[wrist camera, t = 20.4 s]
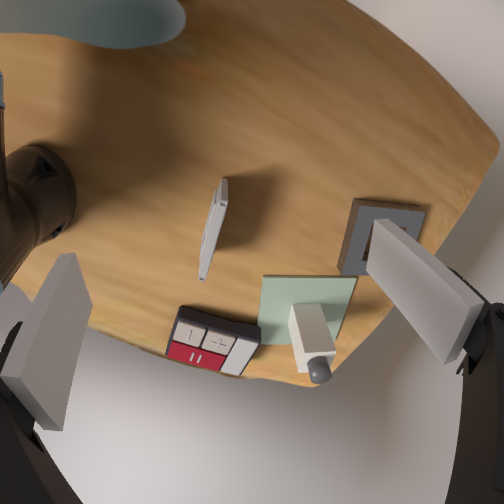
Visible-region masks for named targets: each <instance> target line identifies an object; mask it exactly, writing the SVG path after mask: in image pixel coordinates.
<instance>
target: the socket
mask: <svg viewBox="0 0 504 504" xmlns="http://www.w3.org/2000/svg"><path fill="white" fill-rule="evenodd" d="M425 213H426V212H425V211H424V210H423V209H421V208H420V207H419V206H418V205H410V204H401V203H392V202H383V201H373V200H363V199H353V203H352V207H351V212H350V216H349V220H348V224H347V229H346V233H345V237H344V241H343V245H342V249H341V252H340V256H339V260H338V264H337V268H338V270H339V272H340V274H341V275H369V274H368V272H367V271H366V267H367V261H368V256H369V253H366V252H364V251H365V248H366V245H367V241H368V238H369V234H370V231H371V227H372V224H373V225H374V220H375V219H386V218H388V219H389V220H390V221H392V222H393V223H394V224H396V225H397V226H398V227H399V228H401V229H402V230H403V231H404V232H406V233H407V234H408V235H409V236H411V237H412V238H413V239H414V240H417V238H418V235H419V232H420V229H421V226H422V223H423V220H424V216H425Z"/></svg>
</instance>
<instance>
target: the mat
mask: <svg viewBox="0 0 504 504" xmlns="http://www.w3.org/2000/svg"><path fill="white" fill-rule="evenodd" d="M356 279H357V278H356V276H274V275H263V280H262V288H261V296H260V304H259V312H258V320H257V326H258V327H261V344H260V345H272V344H292V341H291V337H290V332H289V328H288V321H289V316H290V312H291V307H292V304H317V303H320V305H321V308H322V311H323V314H324V316H325V319H326V322H327V325H328V328H329V331H330V334H331V336H332V339H333V342H335V339H336V336H337V334H338V331H339V328H340V326H341V323H342V320H343V317H344V315H345V312H346V309H347V306H348V303H349V300H350V297H351V294H352V291H353V288H354V285H355V282H356Z"/></svg>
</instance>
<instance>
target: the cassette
mask: <svg viewBox="0 0 504 504" xmlns="http://www.w3.org/2000/svg"><path fill="white" fill-rule="evenodd" d="M227 205H228V179H226V178H221V181H220V184H219V188H218V189H215V192H214V196H213V199H212V203H211V207H210V210H209V214H208V218H207V221H206V225H205V229H204V233H203V236H202V243H201V248H200V258H199V259H200V266H199V279H198V280H199V281H203V282H205V280H206V276H207V274H208V270H209V267H210V263H211V261H212V257H213V254H214V252H215V249H216V243H217V240H218V236H219V233H220V230H221V226H222V223H223V221H224V218H225V215H226V209H227Z"/></svg>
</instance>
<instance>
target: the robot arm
mask: <svg viewBox="0 0 504 504" xmlns="http://www.w3.org/2000/svg"><path fill="white" fill-rule="evenodd" d="M4 109H5V103H4V102H3V75H2V73H1V71H0V295H1V294H2V292H3V290H4V289H5V287H6V286H7V284H8V283H9V282H10V280H11V279H12V277H13V276H14V274H15V273H16V272H17V270H18V269H19V267H20V266H21V265H22V263H23V262H24V260H25V259H26V258H27V256H28V255H29V254H30V252H31V251H32V250H33V249H34V248H35V247H37V246H39V245H41V244H44V243H46V242H48V241H50V240H52V239H54V238H56V237H57V236H58V235H59V234H60V233H61V232H62V231H63V230H64V229H65V228H66V226H67V225H68V224H69V222H70V221H71V219H72V217H73V214H74V211H75V206H76V192H75V186H74V182H73V179H72V177H71V174H70V172H69V170H68V169H67V167H66V165H65V164H64V163H63V161H62V160H61V159H60V158H59V157H58V156H57V155H56V154H54V153H53V152H52V151H50V150H48V149H46V148H44V147H41V146H35V145H30V146H24V147H22V148H19V149H17V150H16V151H14V152H12V153H11V154H9V155H8V156H7V157H6V158H5V143H4ZM366 271H367V272H368V274H369V275H370V276H371V277H372V278H373V279H374V281H375V282H376V283H377V284H378V285H379V286H380V288H381V289H382V290H383V291H384V292H385V294H386V295H387V296H388V297H389V298H390V299H391V301H392V302H393V303H394V304H395V306H396V307H397V308H398V309H399V310H400V312H401V313H402V314H403V315H404V317H405V318H406V319H407V320H408V321H409V323H410V324H411V325H412V326H413V328H414V329H415V330H416V331H417V333H418V334H419V335H420V337H421V338H422V339H423V340H424V342H425V343H426V344H427V346H428V347H429V348H430V349H431V351H432V352H433V353H434V355H435V356H436V357H437V359H438V360H439V361H440V363H441V364H442V365H444V364H447V363H449V362H452V361H454V360H456V359H457V357H458V356H459V354H460V352H461V350H462V348H464V349H465V351H466V352H467V354H466V356H465V357H464V359H463V361H462V363H461V364H460V366H459V368H458V370H457V372H456V374H459V373H460V371H461V369H462V368H464V370H463V374H462V375H463V392H462V405H461V416H460V425H459V434H458V441H457V447H456V454H455V459H454V466H453V470H452V475H451V480H450V485H449V489H448V493H447V497H446V501H445V504H504V304H502V303H493V304H492V305H491V304H490V303H489V302H488V301H487V300H486V299H485V298H484V297H483V296H482V295H481V294H480V293H479V292H478V291H477V290H476V289H474V288H473V287H472V286H471V285H469V283H468V282H467V281H466V280H463V277H461V276H460V275H459V274H458V273H457V272H456V271H454V270H453V269H451V268H449V267H447V266H445V265H444V264H443V263H441V262H440V261H439V260H438V259H437V258H436V257H435V256H433V255H432V254H431V253H430V252H429V251H428V250H426V249H425V248H424V247H423V246H422V245H420V244H419V243H418V242H417V241H416V240H414V239H413V238H412V237H411V236H409V235H408V234H407V233H406V232H404V231H403V230H402V229H401V228H399V227H398V226H397V225H396V224H394V223H393V222H392V221H390V220H389V219H388V218H386V219H375V220H374V226H373V232H372V238H371V244H370V250H369V256H368V261H367V267H366ZM92 306H93V304H92V301H91V299H90V296H89V293H88V290H87V288H86V285H85V282H84V279H83V276H82V273H81V270H80V267H79V263H78V260H77V257H76V254H75V253H69V254H62V255H59V257H58V259H57V260H56V262H55V264H54V265H53V267H52V269H51V271H50V272H49V274H48V276H47V278H46V279H45V281H44V283H43V285H42V287H41V288H40V290H39V292H38V294H37V296H36V298H35V300H34V302H33V303H32V305H31V307H30V310H29V311H28V313H27V315H26V317H25V319H24V321H23V322H18V323H17V324H16V325H15V326H14V327H13V329H12V330H11V331H10V333H9V334H8V336H7V338H6V341H5V344H4V345H3V347H2V349H1V352H0V504H83V503H82V502H81V500H80V499H79V498H78V496H77V495H76V493H75V492H74V491H73V490H72V488H71V487H70V485H69V484H68V482H67V481H66V479H65V478H64V476H63V475H62V473H61V472H60V470H59V469H58V467H57V466H56V464H55V463H54V461H53V460H52V458H51V456H50V455H49V453H48V451H47V450H46V448H45V446H44V444H43V443H42V441H41V439H40V437H39V436H38V434H37V433H36V432H35V431H34V429H33V427H34V423H35V421H36V422H37V423H38V424H39V425H40V426H41V427H42V428H43V429H44V430H54V431H63V425H64V420H65V414H66V408H67V404H68V399H69V393H70V389H71V385H72V380H73V376H74V372H75V368H76V363H77V359H78V355H79V352H80V348H81V344H82V340H83V337H84V333H85V330H86V326H87V323H88V320H89V316H90V313H91V310H92Z"/></svg>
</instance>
